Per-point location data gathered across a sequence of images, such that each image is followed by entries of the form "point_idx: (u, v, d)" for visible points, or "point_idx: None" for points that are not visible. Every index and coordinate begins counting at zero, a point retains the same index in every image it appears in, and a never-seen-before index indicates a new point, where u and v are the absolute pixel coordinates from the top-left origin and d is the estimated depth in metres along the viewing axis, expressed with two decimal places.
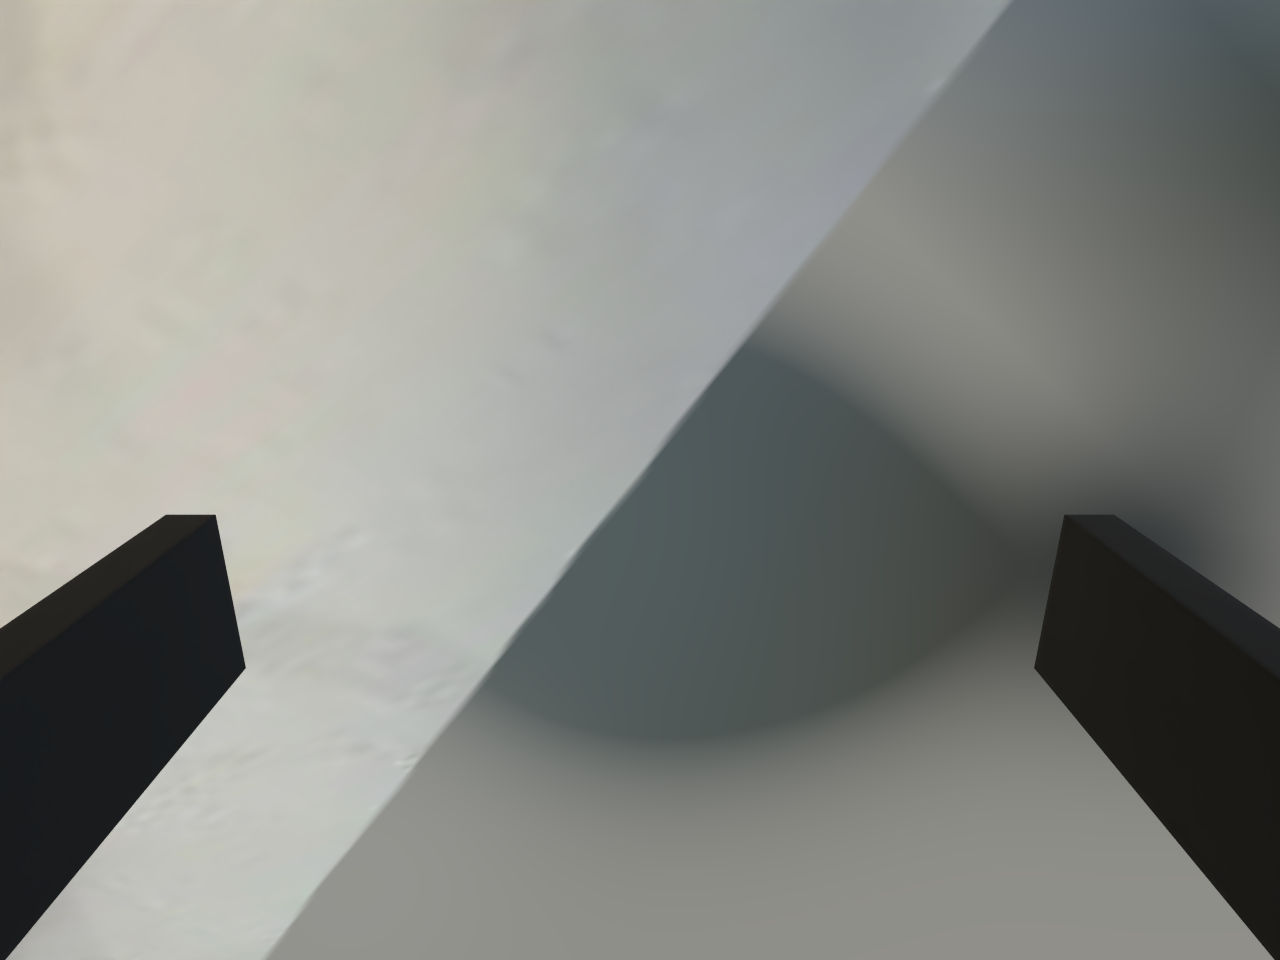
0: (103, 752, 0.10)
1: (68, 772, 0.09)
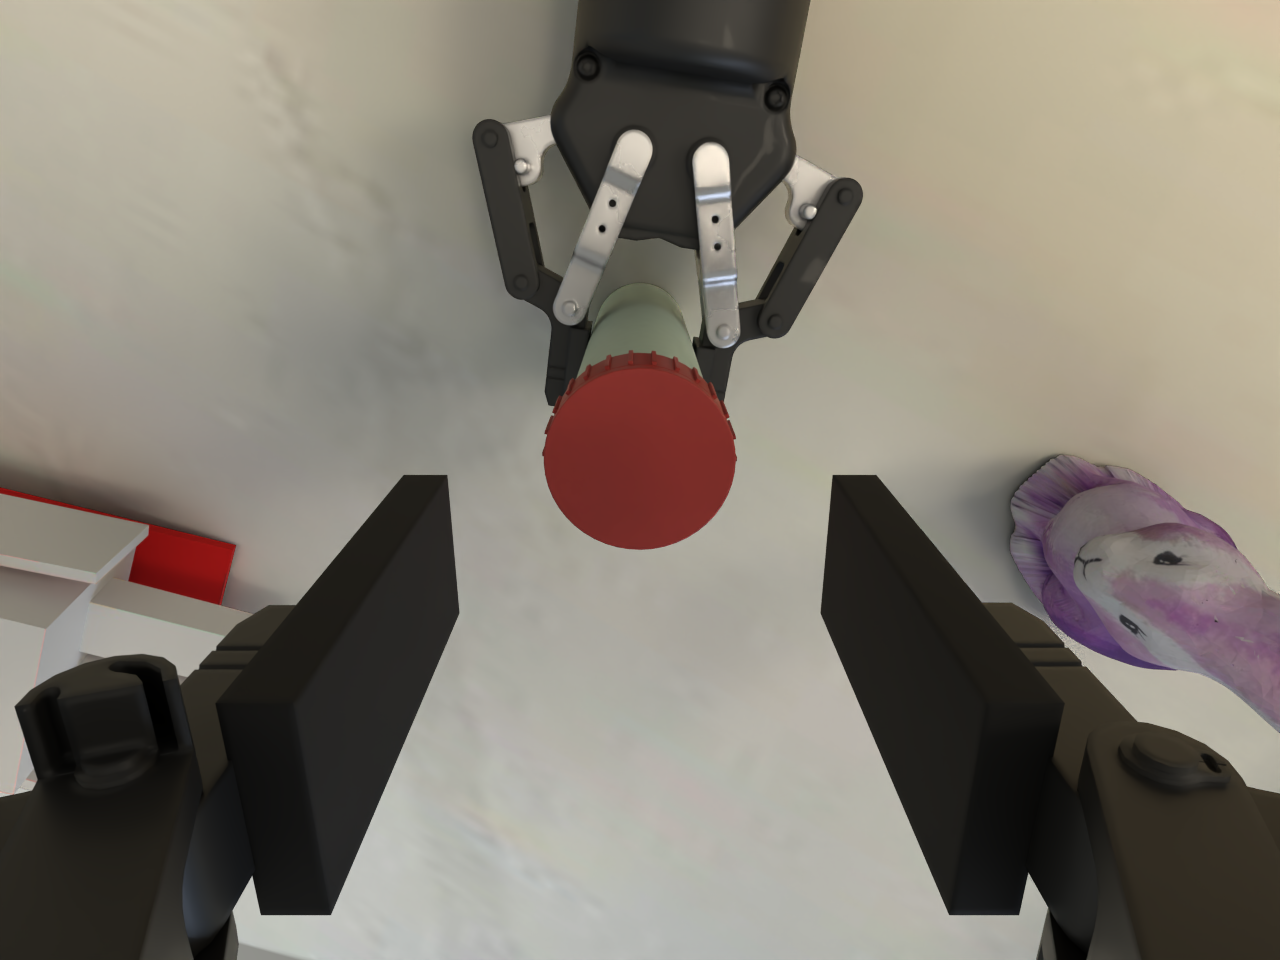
0: (403, 668, 0.11)
1: (391, 680, 0.11)
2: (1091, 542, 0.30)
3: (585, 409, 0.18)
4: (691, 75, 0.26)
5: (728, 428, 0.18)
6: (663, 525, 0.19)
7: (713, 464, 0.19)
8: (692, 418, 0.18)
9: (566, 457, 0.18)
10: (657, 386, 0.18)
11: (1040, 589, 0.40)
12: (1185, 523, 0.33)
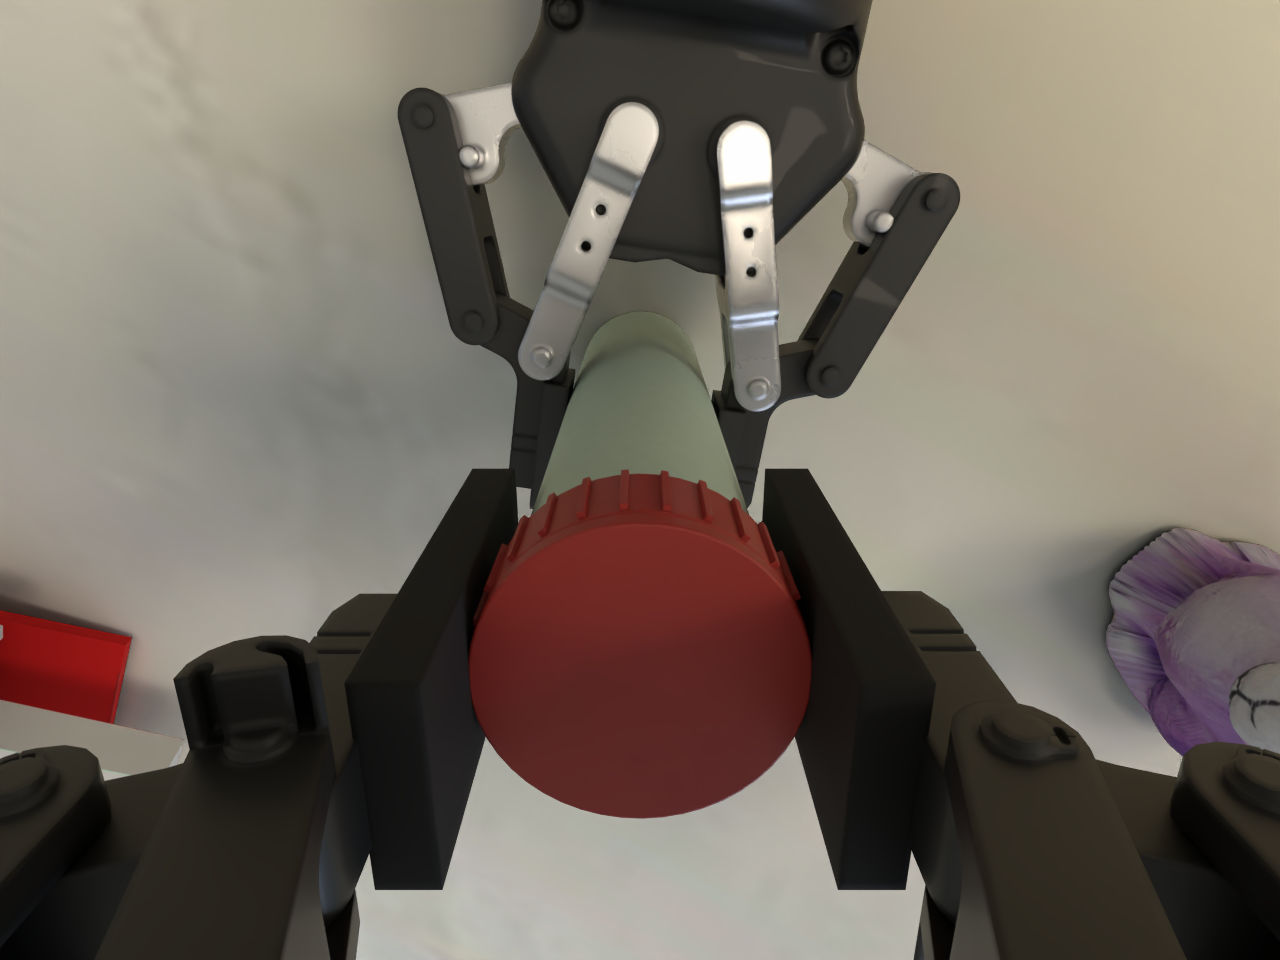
0: None
1: None
2: (1259, 674, 0.22)
3: (540, 594, 0.10)
4: (717, 22, 0.17)
5: (801, 625, 0.10)
6: (682, 781, 0.11)
7: (772, 685, 0.10)
8: (736, 609, 0.10)
9: (508, 673, 0.10)
10: (673, 555, 0.10)
11: (1145, 694, 0.31)
12: None
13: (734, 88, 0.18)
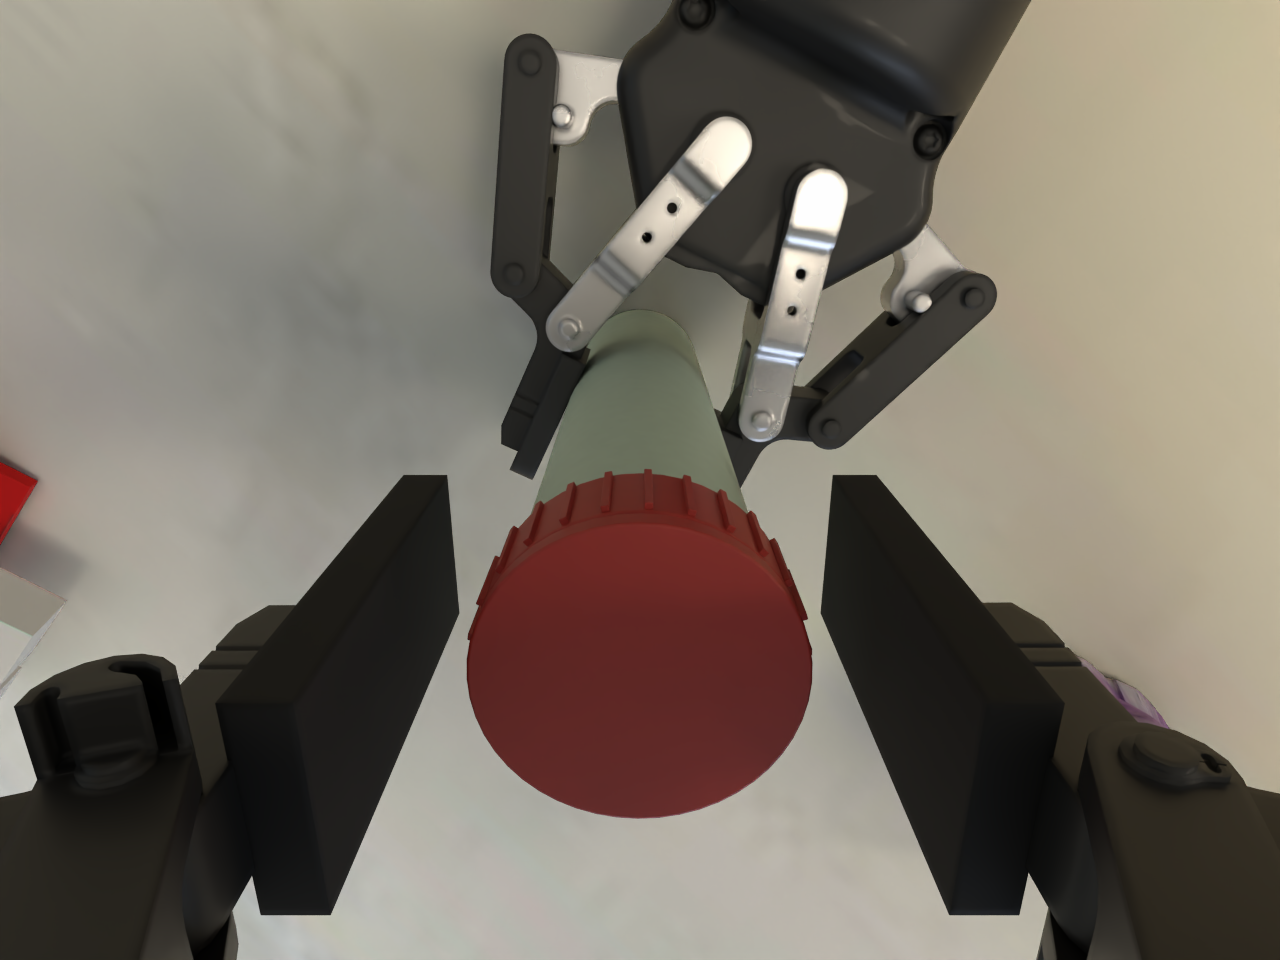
0: (403, 668, 0.11)
1: (390, 680, 0.11)
2: None
3: (542, 758, 0.11)
4: (833, 70, 0.18)
5: (574, 535, 0.10)
6: (765, 646, 0.10)
7: (645, 562, 0.10)
8: (554, 598, 0.10)
9: (626, 788, 0.11)
10: (497, 652, 0.10)
11: None
12: None
13: (828, 136, 0.19)
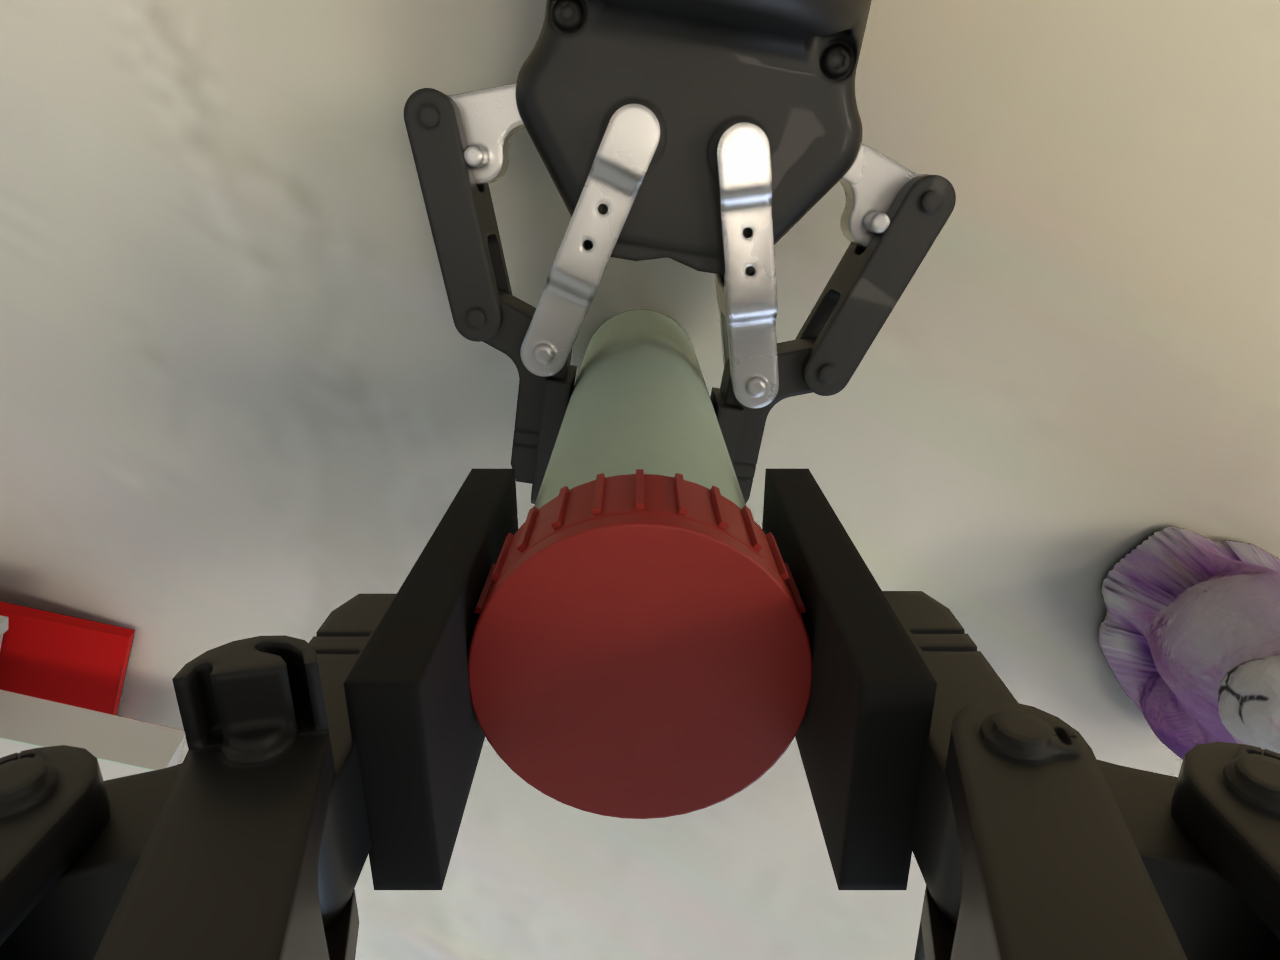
0: None
1: None
2: (1247, 669, 0.23)
3: (573, 778, 0.11)
4: (718, 25, 0.18)
5: (530, 559, 0.10)
6: (749, 616, 0.10)
7: (605, 566, 0.10)
8: (531, 624, 0.10)
9: (664, 787, 0.11)
10: (497, 689, 0.10)
11: (1137, 691, 0.32)
12: None
13: (734, 90, 0.19)
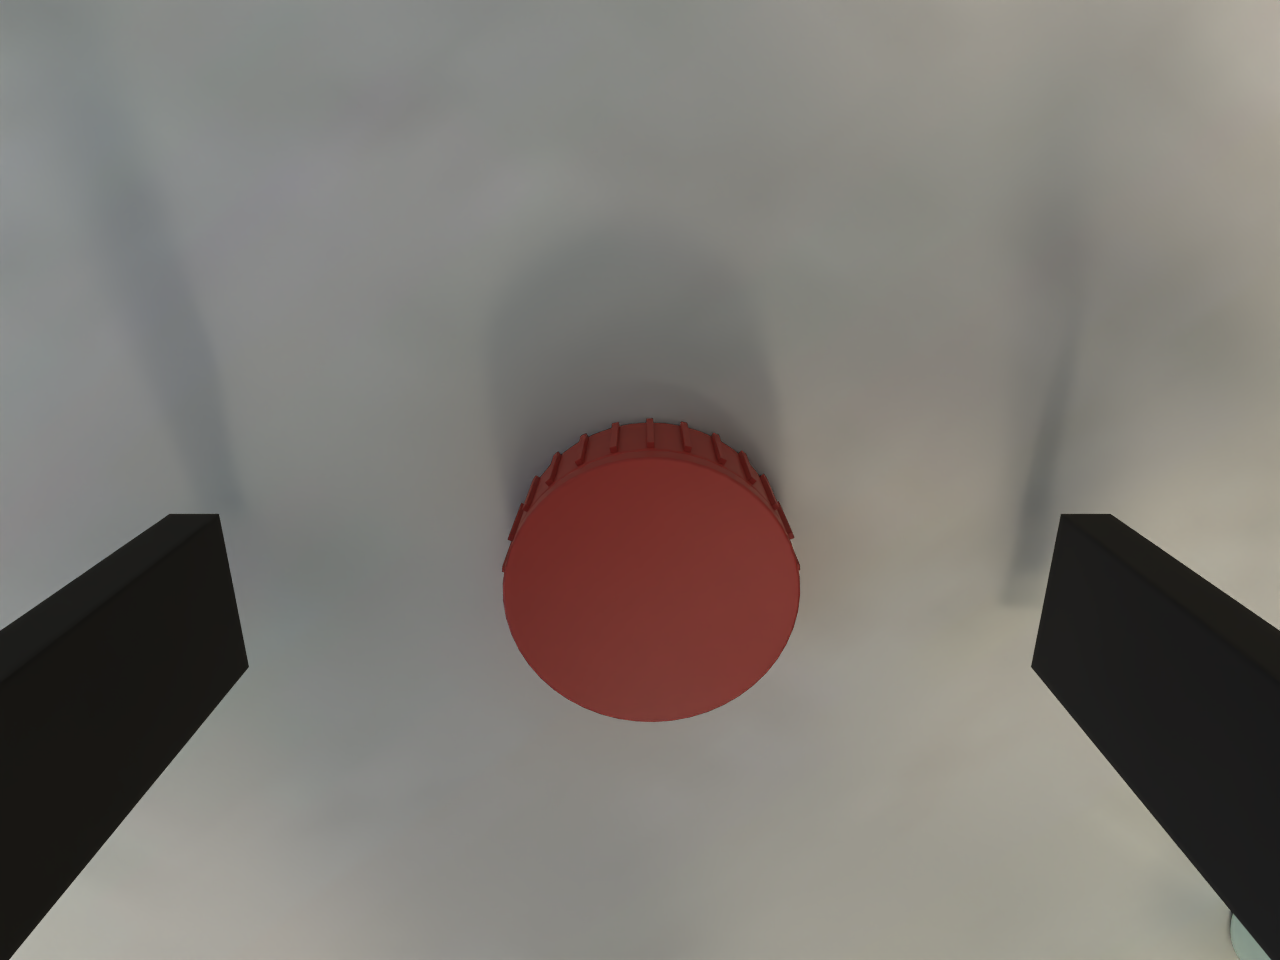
0: (108, 750, 0.10)
1: (73, 770, 0.09)
2: None
3: (593, 685, 0.13)
4: None
5: (557, 489, 0.11)
6: (745, 538, 0.12)
7: (621, 495, 0.11)
8: (558, 546, 0.12)
9: (672, 693, 0.13)
10: (528, 605, 0.12)
11: None
12: None
13: None
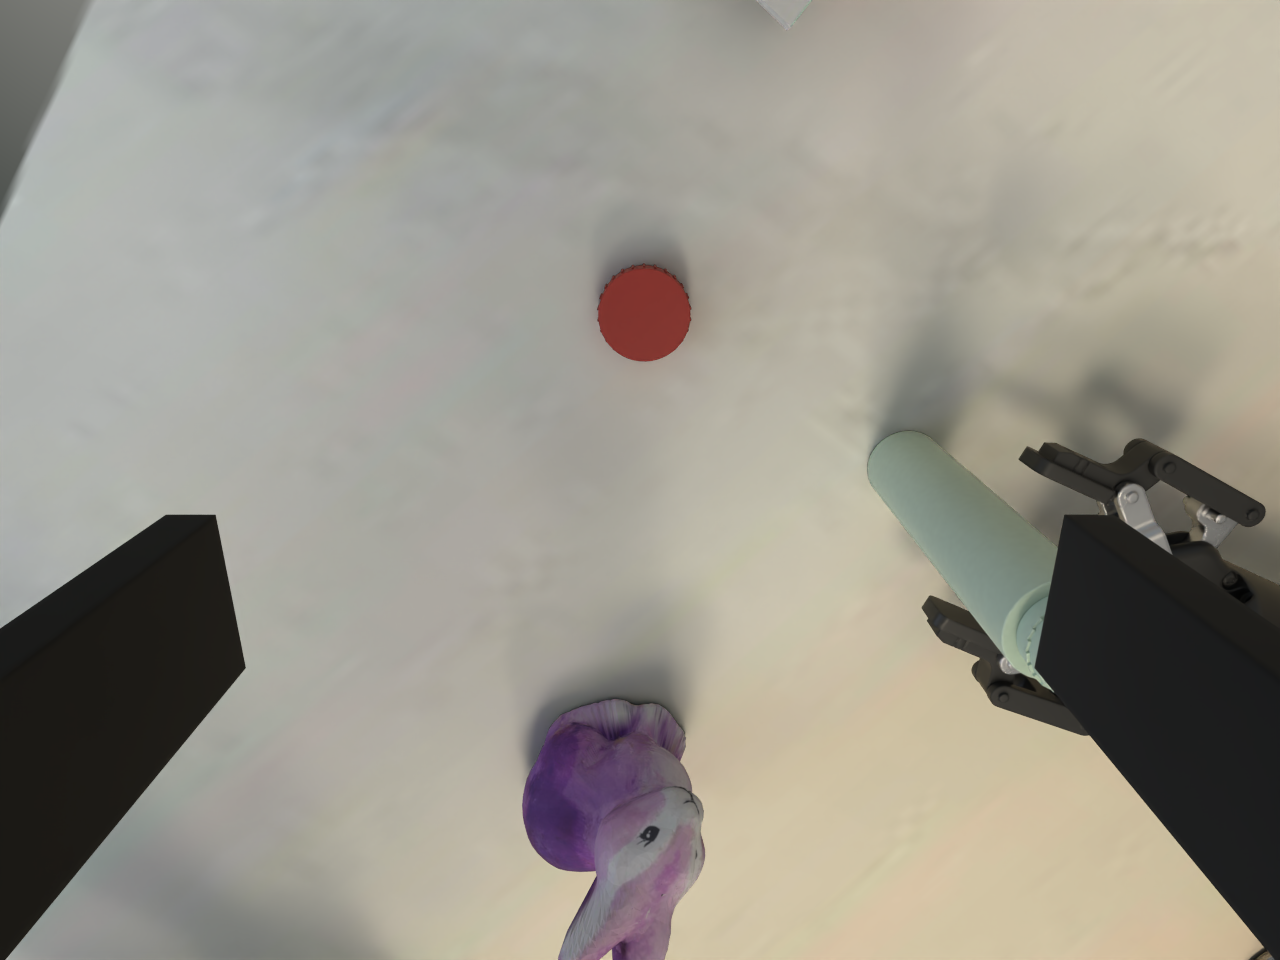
0: (103, 752, 0.10)
1: (68, 772, 0.09)
2: (700, 802, 0.40)
3: (626, 347, 0.39)
4: None
5: (616, 279, 0.38)
6: (672, 295, 0.38)
7: (635, 280, 0.38)
8: (616, 297, 0.38)
9: (651, 350, 0.39)
10: (606, 318, 0.39)
11: (580, 721, 0.47)
12: None
13: None
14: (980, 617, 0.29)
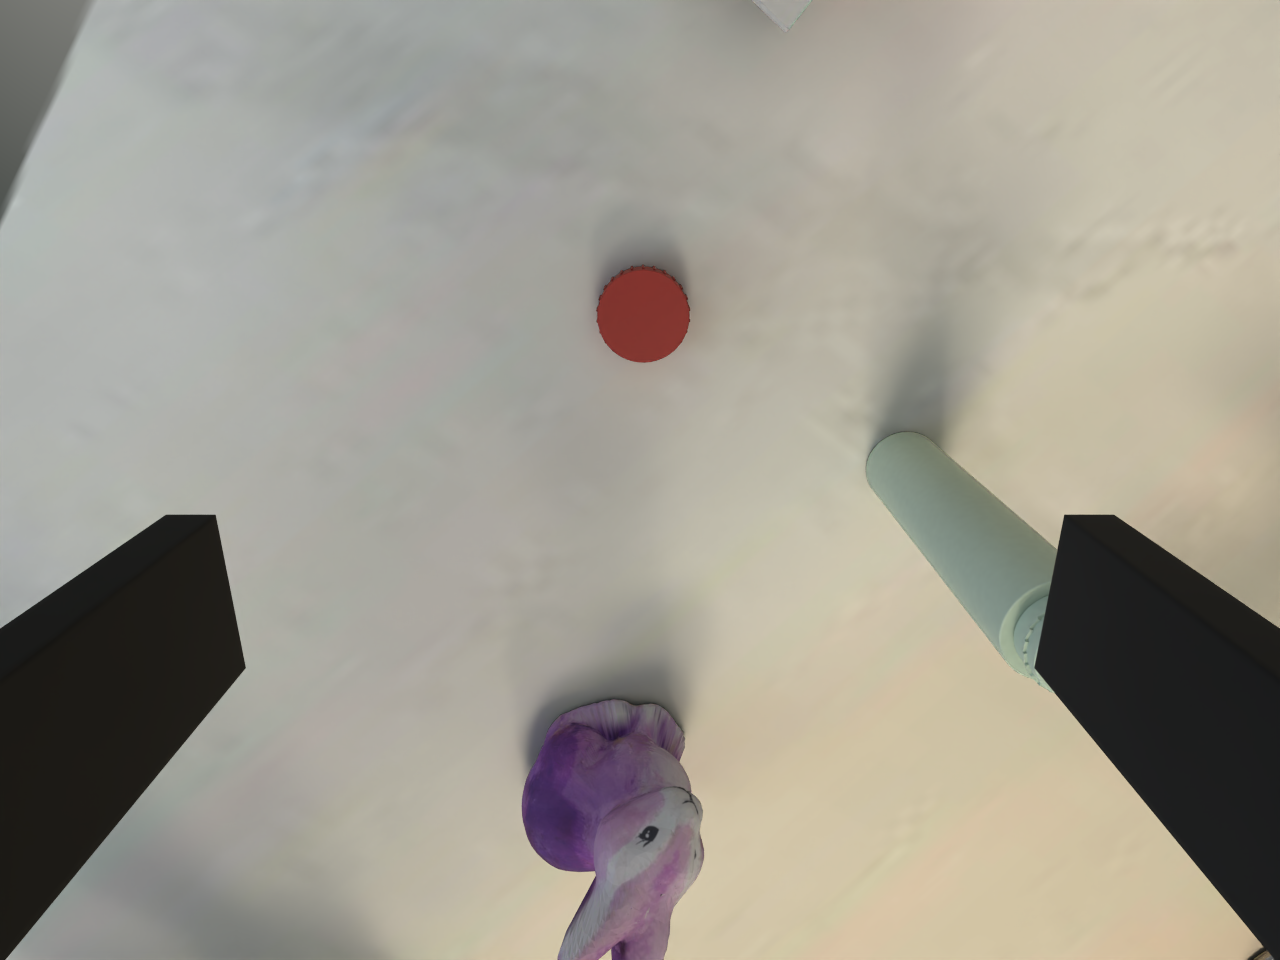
0: (103, 752, 0.10)
1: (69, 772, 0.09)
2: (699, 802, 0.40)
3: (625, 348, 0.39)
4: None
5: (615, 280, 0.38)
6: (671, 296, 0.38)
7: (634, 282, 0.38)
8: (615, 299, 0.38)
9: (650, 351, 0.39)
10: (605, 319, 0.39)
11: (580, 721, 0.47)
12: None
13: None
14: (978, 617, 0.29)
